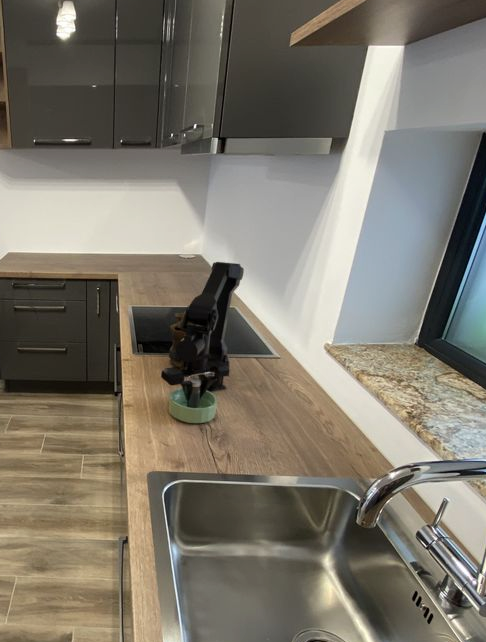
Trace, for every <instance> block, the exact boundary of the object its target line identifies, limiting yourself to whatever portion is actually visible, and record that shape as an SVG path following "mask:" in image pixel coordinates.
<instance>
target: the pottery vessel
mask: <svg viewBox="0 0 486 642" xmlns="http://www.w3.org/2000/svg"><path fill="white" fill-rule="evenodd" d="M185 312H186V310H185V311H184V312H176V313H175V314H174V317H175V318H176V320H177V322H176V323H174V324H171V325H170V326H169V328H170V329H171V336H172V345H171V347H170V348H169V353H168V358H169V359H170V354H171V351H175V350H176V346H177V344H178V343H179V342H180V341H181V340H182V339H183V338H184V336H185V335H186V331H181V326H182V322H183V319H184V315H185ZM187 324H188V325H194V326H196V324H190V323H189V321H188V323H187ZM169 363H171V364H172V365H174V366H173V367H176V368H177V367H178V368H179V369H178V370H180V371H181V370H186V368H185V367H184V368H183V367H182V366H181V364H176V362H171V359H170V360H169Z"/></svg>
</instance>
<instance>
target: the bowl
mask: <svg viewBox="0 0 486 642" xmlns="http://www.w3.org/2000/svg"><path fill="white" fill-rule="evenodd" d="M186 402H187V400H186V399H185V396H184V392H183V389H182V387H180V388H176V389H174V390H172V391H171V392H170V394H169V400H168V412H169V414H170V415H171V416H172V417H173V418H175V419H176V420H178V421H181V422H184V423H188V424H202V423H208V422H210V421H212V420H214V418H215V417H216V412H217V405H218V397H217V396H216V395H215V394H214V393H213V392H212V391H207V390H206V392H205V393H204V395H203V396H202V397H201V399H200V401H199V407H198V408H189V407H187V405H186Z"/></svg>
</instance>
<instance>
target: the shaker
mask: <svg viewBox="0 0 486 642" xmlns="http://www.w3.org/2000/svg"><path fill="white" fill-rule="evenodd" d="M190 381H191V382H192V383H193V385H192V390H191V395H190V399H189V401H187V402H186V405H187V407H189V408H198V407H199V401H200V391H201V380H200V379H199V377H190Z"/></svg>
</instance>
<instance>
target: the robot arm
mask: <svg viewBox="0 0 486 642" xmlns="http://www.w3.org/2000/svg"><path fill="white" fill-rule="evenodd" d="M244 273H245V270H244V267H242V266H241V264H240V263H235V262H224V261H223V262H222V261H216V262H213V263H212V266H211V271H210V274H209V276H208V278H207V280H206V282H205V284H204V286H203V288H202V290H201V293H200V294H199V295H197V296H195V297H193V298H192V300H191V301H190V303H189V305H187V307H186V309H185V311H186V312H185V311H184V312H185V315H184V319H183V322H182V326H181V331H186V335H185V336H184V338H183V339H182V340H181V341H180V342H179V343H178V344H177V346H176V350H175V351H171V354H170V358H169V359H171V362H176V364H181V366H182V367H183V368H184V367H185V368H186V370H183V369H182V370H180V369H178V368H177V367H175V366H170V367H164V368H163V369H161V374H160V375H161V376H160V378H162V379H163V381H165V382H166V383H167V385H169V386H178V385H180V386H181V388H182V389H183V392H184V396H185V399H186V400H187V401H189V399H190V395H191V390H192V385H193V383H192V382H191V381H190V378H192V377H195V376H197V378H198V379H200V380H201V391H200V399H201V397H202V396H203V395H204V393H205V392H206V390H207V391H209V392H213V391H218V390H225V389H226V385H224V384H223V383H224V377H229V376H230V374H231V373H230V372H231V369H230V364H231V363H230V359H229V356H228V347H227V344H226V342H225V336H226V330H227V324H228V319H229V313H230V308H231V304H232V303H231V302H232V297H233V293H234V292H235V291H236V290H237V289H238V288H239V287H240V285H241V284H240V283H241V281H242V280H243V277H244ZM188 321H189V323H190V324H196V326H194V325H188V324H187V323H188ZM171 362H170V363H171Z"/></svg>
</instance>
